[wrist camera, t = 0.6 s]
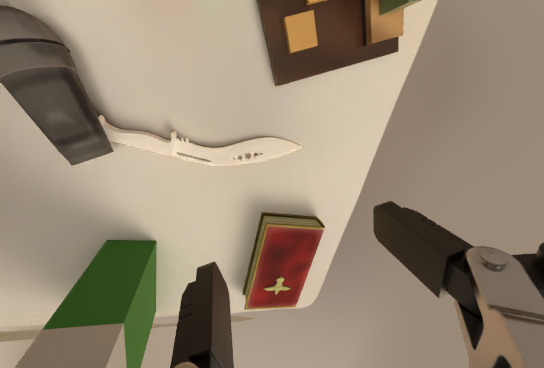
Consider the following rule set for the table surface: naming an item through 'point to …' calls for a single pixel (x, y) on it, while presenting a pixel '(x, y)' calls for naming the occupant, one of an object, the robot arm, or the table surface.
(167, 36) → the table surface
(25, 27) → the beverage cup
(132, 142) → the knife
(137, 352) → the green box
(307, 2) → the cracker
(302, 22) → the cracker
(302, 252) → the hardcover book
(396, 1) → the wooden block stand
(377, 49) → the cutting board
